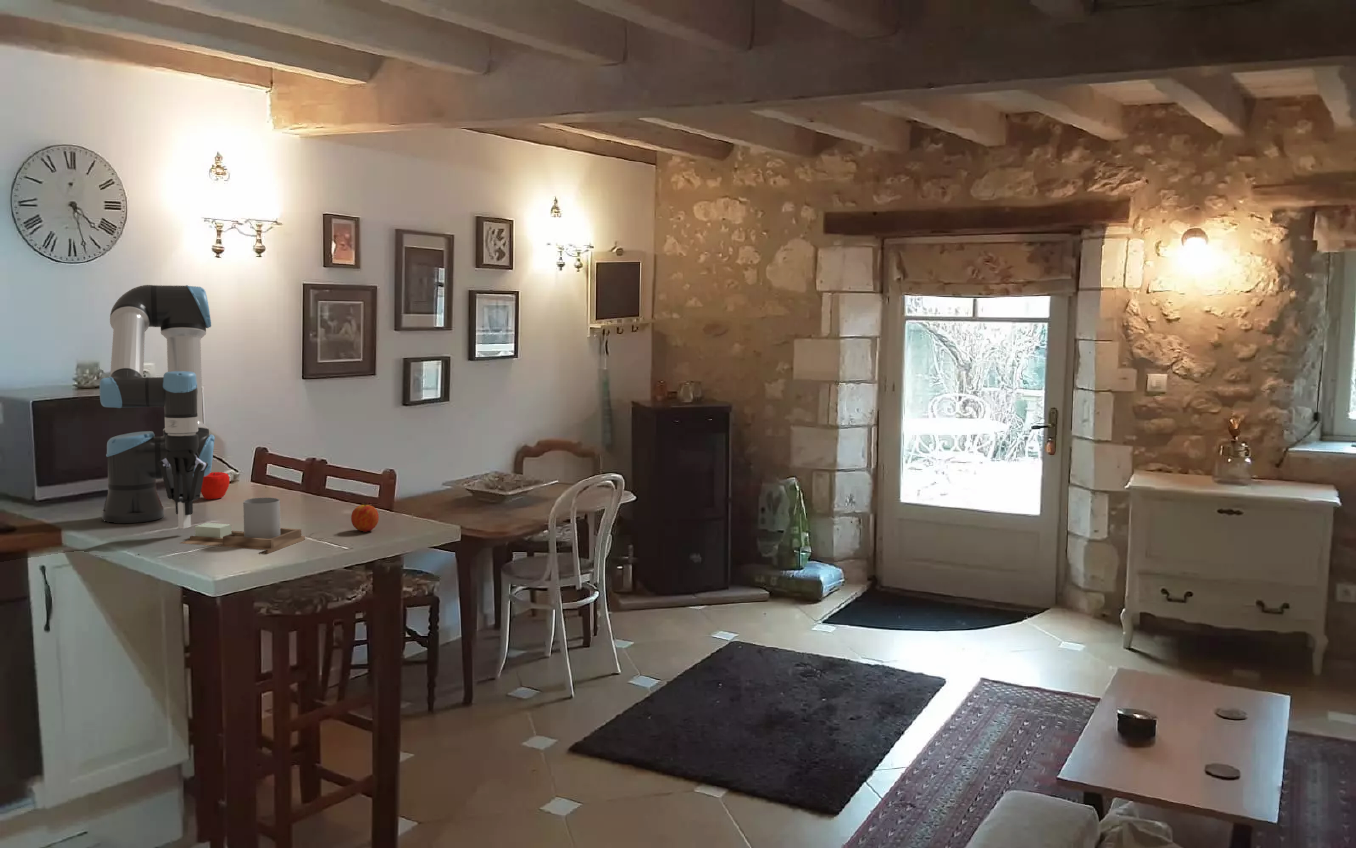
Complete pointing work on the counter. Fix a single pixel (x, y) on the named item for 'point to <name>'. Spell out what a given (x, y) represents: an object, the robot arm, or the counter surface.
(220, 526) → the pale green block
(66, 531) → the counter surface
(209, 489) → the apple
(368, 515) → the fruit
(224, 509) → the counter surface
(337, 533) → the counter surface
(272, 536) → the cup
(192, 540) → the jig
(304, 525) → the counter surface
